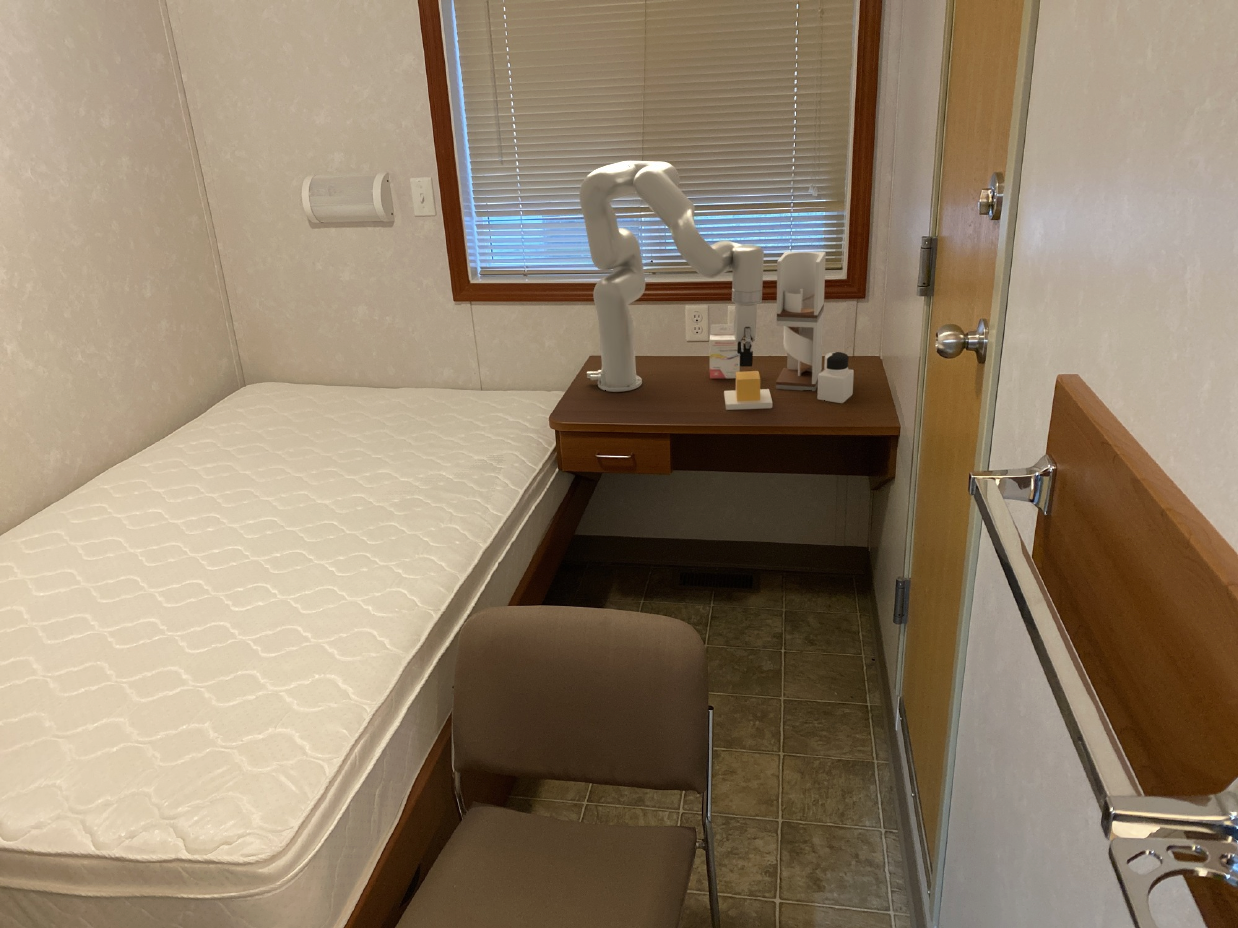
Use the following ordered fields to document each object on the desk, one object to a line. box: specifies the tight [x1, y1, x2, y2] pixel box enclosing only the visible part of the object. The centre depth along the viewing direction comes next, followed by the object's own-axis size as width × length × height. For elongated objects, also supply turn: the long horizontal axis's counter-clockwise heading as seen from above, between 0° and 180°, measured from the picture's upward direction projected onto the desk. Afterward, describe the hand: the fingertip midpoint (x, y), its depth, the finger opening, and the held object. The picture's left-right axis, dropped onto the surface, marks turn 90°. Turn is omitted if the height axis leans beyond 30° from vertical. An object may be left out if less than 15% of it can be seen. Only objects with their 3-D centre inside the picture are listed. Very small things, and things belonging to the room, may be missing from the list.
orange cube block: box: [735, 370, 761, 401], centre depth 240 cm, size 6×6×6 cm
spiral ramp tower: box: [775, 251, 827, 392], centre depth 245 cm, size 11×11×35 cm
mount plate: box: [723, 388, 773, 411], centre depth 241 cm, size 12×10×6 cm
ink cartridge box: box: [709, 323, 741, 379], centre depth 258 cm, size 9×5×15 cm, turn 84°
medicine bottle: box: [816, 351, 855, 404], centre depth 239 cm, size 7×7×12 cm
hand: (744, 359), depth 237 cm, fingers open, 9 cm apart
